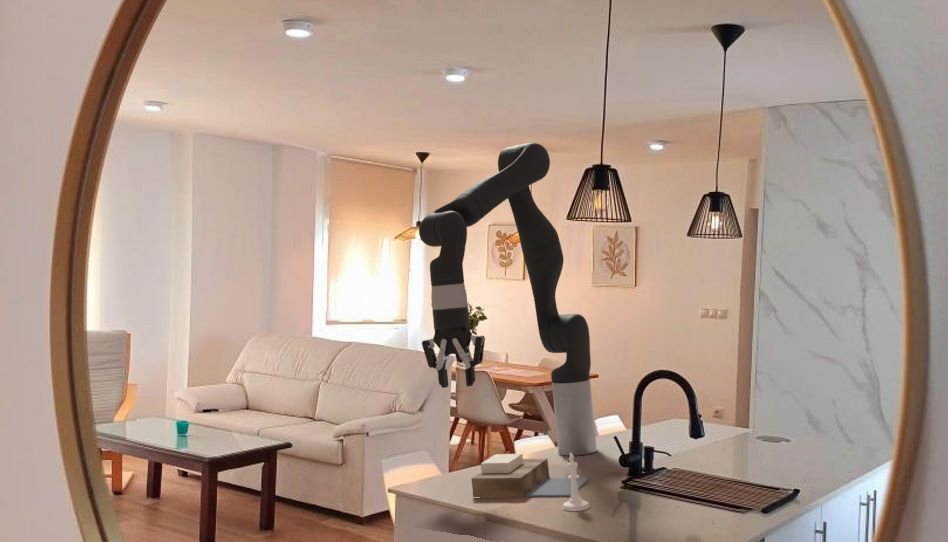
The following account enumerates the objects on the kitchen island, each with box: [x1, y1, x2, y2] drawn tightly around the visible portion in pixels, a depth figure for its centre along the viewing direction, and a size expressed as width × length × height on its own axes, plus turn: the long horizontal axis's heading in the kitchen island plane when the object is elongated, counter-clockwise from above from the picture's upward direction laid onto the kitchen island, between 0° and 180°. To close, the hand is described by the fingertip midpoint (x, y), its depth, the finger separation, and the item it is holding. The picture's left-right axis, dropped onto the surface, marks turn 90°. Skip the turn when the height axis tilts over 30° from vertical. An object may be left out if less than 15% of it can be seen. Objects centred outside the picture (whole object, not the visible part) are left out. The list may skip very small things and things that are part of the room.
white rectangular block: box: [480, 453, 524, 473], centre depth 187 cm, size 9×6×2 cm, turn 159°
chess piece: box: [562, 453, 591, 512], centre depth 165 cm, size 5×5×10 cm
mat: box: [524, 477, 590, 498], centre depth 181 cm, size 14×10×1 cm
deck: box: [471, 457, 550, 499], centre depth 186 cm, size 18×10×4 cm, turn 159°
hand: (457, 386), depth 190 cm, fingers open, 5 cm apart
